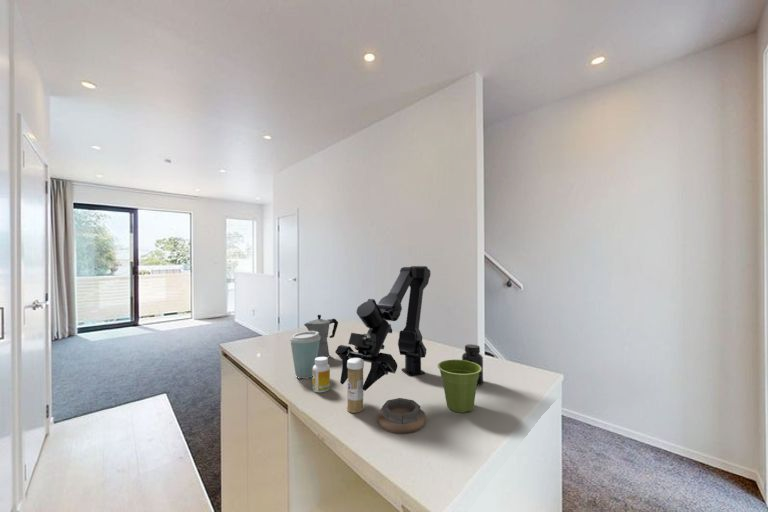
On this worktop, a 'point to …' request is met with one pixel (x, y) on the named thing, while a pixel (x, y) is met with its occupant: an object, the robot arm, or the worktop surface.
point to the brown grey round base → (401, 416)
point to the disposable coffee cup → (305, 352)
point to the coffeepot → (322, 333)
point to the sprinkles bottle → (355, 385)
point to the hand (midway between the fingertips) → (352, 386)
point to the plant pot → (459, 383)
